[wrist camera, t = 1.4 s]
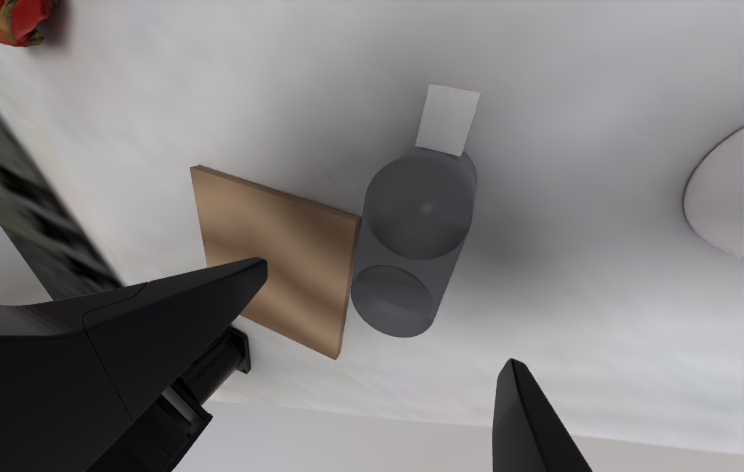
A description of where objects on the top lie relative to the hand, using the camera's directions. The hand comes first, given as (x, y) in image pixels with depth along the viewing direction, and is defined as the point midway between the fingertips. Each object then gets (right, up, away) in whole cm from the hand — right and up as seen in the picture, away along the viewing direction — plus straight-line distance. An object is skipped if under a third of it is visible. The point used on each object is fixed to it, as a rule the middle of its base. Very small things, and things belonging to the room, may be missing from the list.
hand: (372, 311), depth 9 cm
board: (-8, 0, +14) cm, 16 cm away
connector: (+3, +5, +6) cm, 8 cm away
